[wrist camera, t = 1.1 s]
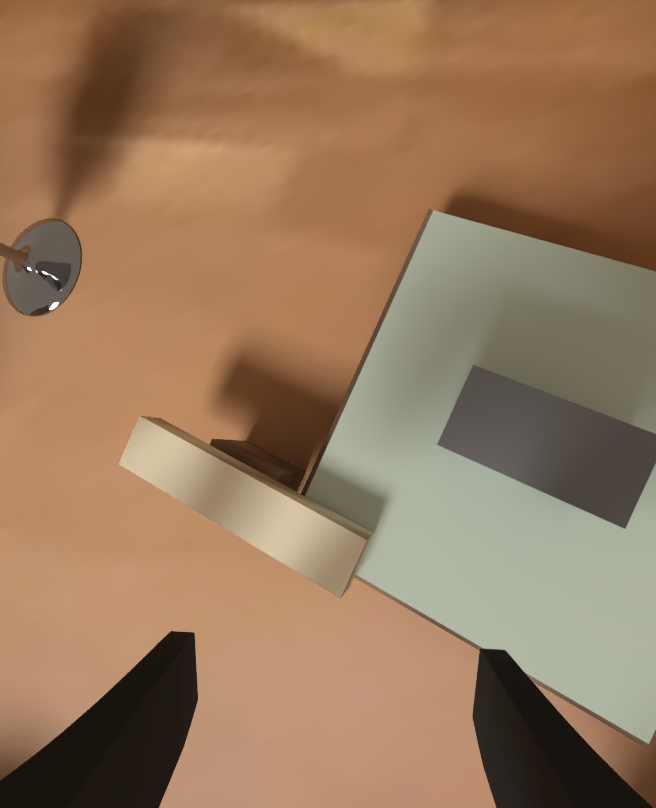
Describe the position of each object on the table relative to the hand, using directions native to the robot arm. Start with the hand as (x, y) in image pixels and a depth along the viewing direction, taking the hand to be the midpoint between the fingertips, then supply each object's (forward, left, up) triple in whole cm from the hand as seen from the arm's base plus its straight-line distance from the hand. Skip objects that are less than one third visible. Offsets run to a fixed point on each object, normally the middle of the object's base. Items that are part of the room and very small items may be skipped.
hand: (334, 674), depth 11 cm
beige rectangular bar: (+7, -1, -7) cm, 10 cm away
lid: (-3, -8, -9) cm, 12 cm away
